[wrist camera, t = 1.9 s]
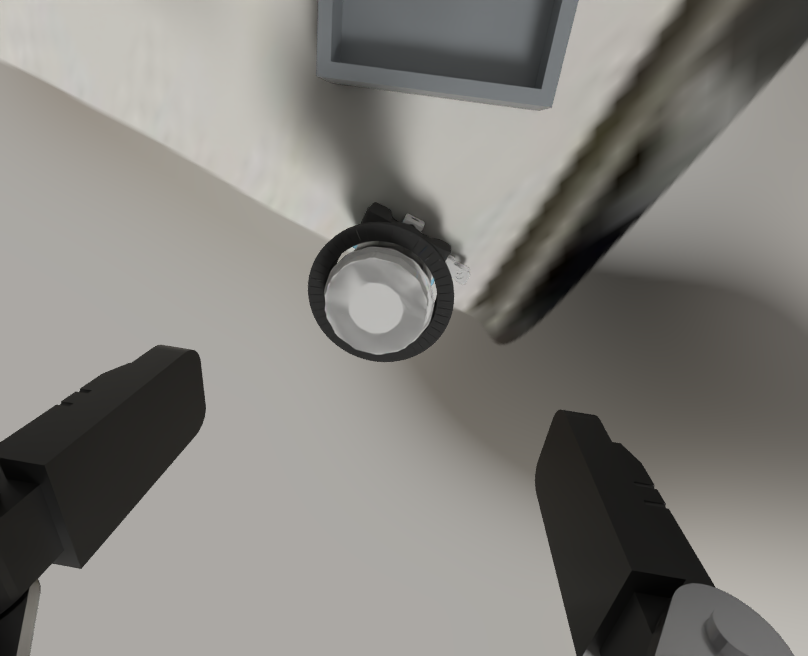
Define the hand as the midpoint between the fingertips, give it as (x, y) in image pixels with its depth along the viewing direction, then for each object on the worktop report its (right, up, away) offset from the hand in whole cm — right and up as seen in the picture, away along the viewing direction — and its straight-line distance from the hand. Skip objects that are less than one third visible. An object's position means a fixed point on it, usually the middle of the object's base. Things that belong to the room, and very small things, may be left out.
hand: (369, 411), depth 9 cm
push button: (+1, +7, +14) cm, 15 cm away
